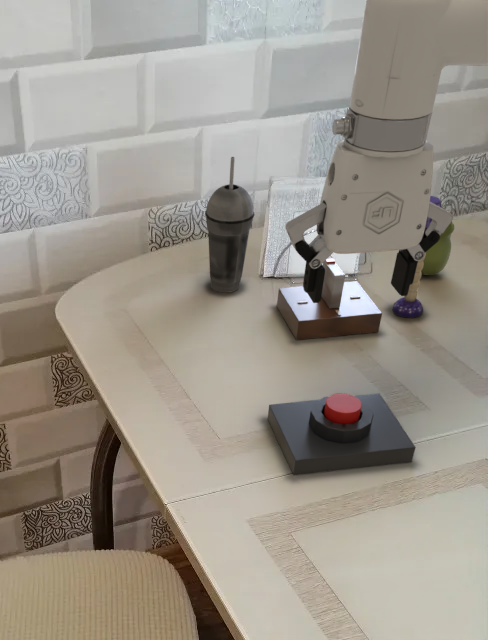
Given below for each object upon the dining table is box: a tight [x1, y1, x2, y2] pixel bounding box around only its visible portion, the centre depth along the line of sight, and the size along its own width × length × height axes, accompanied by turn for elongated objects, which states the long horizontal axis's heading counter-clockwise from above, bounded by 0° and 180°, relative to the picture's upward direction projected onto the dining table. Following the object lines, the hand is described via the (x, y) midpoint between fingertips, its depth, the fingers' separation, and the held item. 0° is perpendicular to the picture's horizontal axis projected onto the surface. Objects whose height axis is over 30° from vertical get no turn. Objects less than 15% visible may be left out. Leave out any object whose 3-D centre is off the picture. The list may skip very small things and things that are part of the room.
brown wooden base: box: [276, 280, 383, 341], centre depth 115 cm, size 12×10×3 cm
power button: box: [324, 392, 362, 425], centre depth 92 cm, size 4×4×2 cm
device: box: [267, 392, 416, 476], centre depth 94 cm, size 14×11×4 cm
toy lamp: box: [392, 195, 443, 319], centre depth 112 cm, size 5×5×17 cm
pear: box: [421, 211, 455, 276], centre depth 123 cm, size 6×5×10 cm
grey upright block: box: [322, 258, 346, 308], centre depth 113 cm, size 5×2×5 cm, turn 7°
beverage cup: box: [204, 156, 255, 293], centre depth 119 cm, size 7×7×20 cm
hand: (355, 293), depth 87 cm, fingers open, 9 cm apart
